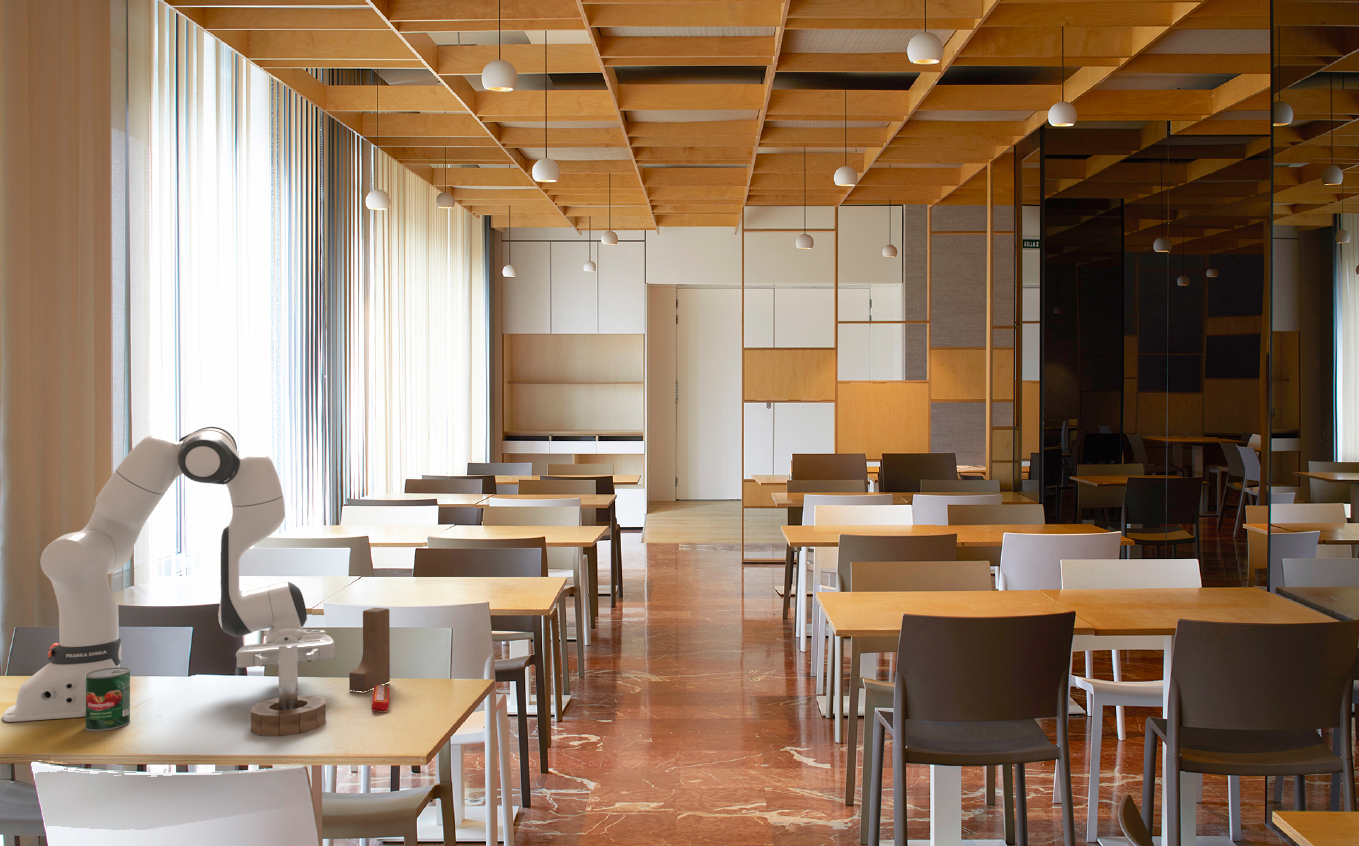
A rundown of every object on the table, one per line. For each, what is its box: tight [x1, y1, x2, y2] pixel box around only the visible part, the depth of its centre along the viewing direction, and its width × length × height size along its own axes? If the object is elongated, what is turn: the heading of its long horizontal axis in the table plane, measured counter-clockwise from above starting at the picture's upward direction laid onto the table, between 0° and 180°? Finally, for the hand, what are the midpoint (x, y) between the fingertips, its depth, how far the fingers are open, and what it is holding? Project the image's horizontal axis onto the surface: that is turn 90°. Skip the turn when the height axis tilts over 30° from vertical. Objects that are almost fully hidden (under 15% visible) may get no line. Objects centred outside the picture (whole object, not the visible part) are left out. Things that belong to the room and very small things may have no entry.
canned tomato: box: [84, 666, 131, 732], centre depth 190 cm, size 8×8×11 cm
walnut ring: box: [250, 694, 327, 737], centre depth 189 cm, size 14×14×4 cm
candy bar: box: [371, 685, 391, 712], centre depth 204 cm, size 16×4×3 cm, turn 17°
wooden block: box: [348, 607, 391, 692], centre depth 217 cm, size 9×4×18 cm, turn 157°
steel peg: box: [278, 644, 299, 710], centre depth 189 cm, size 4×4×16 cm
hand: (287, 660), depth 200 cm, fingers open, 8 cm apart
